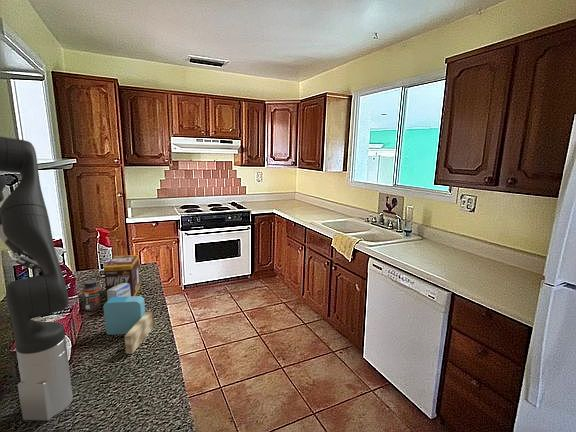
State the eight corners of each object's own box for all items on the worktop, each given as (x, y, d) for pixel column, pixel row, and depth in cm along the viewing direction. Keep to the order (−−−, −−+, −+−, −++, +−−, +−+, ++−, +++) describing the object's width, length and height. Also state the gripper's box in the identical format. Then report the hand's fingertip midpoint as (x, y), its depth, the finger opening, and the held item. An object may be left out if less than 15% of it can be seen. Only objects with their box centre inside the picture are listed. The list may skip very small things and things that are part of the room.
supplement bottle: (89, 313, 123) (86, 285, 121) (80, 309, 126) (77, 282, 124) (104, 306, 128) (102, 280, 126) (95, 303, 131) (92, 277, 129)
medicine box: (118, 311, 125) (116, 291, 123) (108, 310, 125) (106, 290, 124) (131, 302, 132) (130, 283, 130) (122, 301, 133) (120, 282, 131)
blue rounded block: (146, 326, 114) (144, 295, 112) (142, 333, 110) (140, 301, 107) (111, 328, 113) (108, 296, 110) (105, 335, 108) (102, 302, 106)
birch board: (132, 353, 99) (131, 335, 97) (125, 353, 99) (124, 335, 97) (154, 326, 114) (153, 310, 113) (148, 326, 114) (147, 310, 113)
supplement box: (106, 302, 132) (103, 267, 129) (116, 287, 146) (113, 255, 144) (133, 300, 134) (130, 265, 131) (140, 286, 149) (138, 254, 146)
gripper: (7, 232, 98) (45, 274, 100) (40, 226, 111) (74, 263, 113) (-10, 247, 99) (28, 289, 100) (24, 239, 112) (58, 276, 113)
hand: (52, 275), depth 107 cm, fingers closed
